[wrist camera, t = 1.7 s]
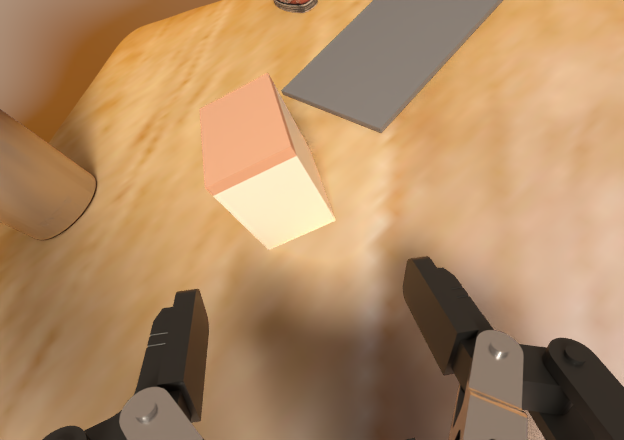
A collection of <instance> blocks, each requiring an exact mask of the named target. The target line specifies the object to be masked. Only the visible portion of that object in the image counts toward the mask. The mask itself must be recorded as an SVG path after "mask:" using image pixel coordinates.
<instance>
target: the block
mask: <svg viewBox="0 0 624 440" xmlns="http://www.w3.org/2000/svg"><path fill="white" fill-rule="evenodd" d="M200 123H201V138H202V153H203V167H204V182H205V189H206V190H207V191H208V192H209V193H211V194H212V195H213V196H214V197H215V198H216V199H217V200H218V201H219V202H220V203H221V204H222V205H223V206H224V207H225V208H226V209H227V210H228V211H229V212H230V213H231V214H232V215H233V216H234V217H235V218H236V219H237V220H238V221H239V222H240V223H241V224H242V225H244V226H245V227H246V228H247V229H248V230H249V231H250V232H251V233H252V234H253V235H254V236H255V237H256V238H257V239H258V240H259V241H260V242H261V243H262V244H263V245H264V246H265V247H266V248H267V249H268V250H270V249H272V248H275V247H277V246H279V245H281V244H284V243H286V242H288V241H290V240H293V239H295V238H297V237H299V236H302V235H304V234H306V233H308V232H311V231H313V230H315V229H317V228H320V227H322V226H324V225H327V224H329V223H331V222H333V221H336V220H335V217H334V214H333V211H332V209H331V206H330V203H329V200H328V198H327V195H326V192H325V189H324V187H323V184H322V181H321V178H320V176H319V173H318V170H317V167H316V165H315V162H314V159H313V156H312V153H311V151H310V149H309V147H308V145H307V143H306V141H305V140H304V138H303V136H302V134H301V132H300V130H299V129H298V127H297V125H296V123H295V121H294V119H293V118H292V116H291V114H290V112H289V110H288V108H287V107H286V105H285V103H284V101H283V99H282V98H281V96H280V94H279V92H278V90H277V88H276V87H275V85H274V83H273V81H272V79H271V77H270V76H269V74H268V73H266V74H264V75H262V76H260V77H259V78H257V79H255V80H253V81H251V82H249V83H247V84H245V85H244V86H242V87H240V88H238V89H236V90H234V91H232V92H230V93H228V94H227V95H225V96H223V97H221V98H219V99H217V100H215V101H213V102H211V103H210V104H208V105H206V106H204V107H202V108H200Z"/></svg>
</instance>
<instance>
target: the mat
mask: <svg viewBox="0 0 624 440" xmlns="http://www.w3.org/2000/svg"><path fill="white" fill-rule="evenodd" d="M502 1H503V0H373V1H372V2H371V3H370V4H369V5H368V6H367V7H366V8H365V9H364V10H363V11H362V12H361V13H360V14H359V15H358V16H357V17H356V18H355V19H354V20H353V21H352V22H351V23H350V24H349V25H348V26H347V27H346V28H345V29H344V30H343V31H341V32H340V33H339V34H338V35H337V36H336V37H335V38H334V39H333V40H332V41H331V42H330V43H329V44H328V45H327V46H326V47H325V48H324V49H323V50H322V51H321V52H320V53H319V54H318V55H317V56H316V57H315V58H314V59H313V60H312V61H311V62H310V63H309V64H308V65H307V66H306V67H305V68H304V69H303V70H302V71H301V72H300V73H299V74H298V75H297V76H296V77H295V78H294V79H293V80H292V81H291V82H290V83H289V84H288V85H287V86H286V87H284V88H283V89H282V90H281V91H282V93H283V95H286V96H289V97H291V98H294V99H296V100H299V101H301V102H304V103H306V104H309V105H311V106H314V107H316V108H319V109H322V110H324V111H327V112H329V113H332V114H334V115H337V116H339V117H342V118H344V119H347V120H349V121H352V122H355V123H357V124H360V125H362V126H365V127H367V128H370V129H372V130H375V131H377V132H380V133H382V132H383V131H384V130H385V128H386V127H387V126H388V125H389V124H390V123H391V122H392V121H393V120H394V119H395V118H396V116H397V115H398V114H399V113H400V112H401V111H402V110H403V109H404V108H405V107H406V106H407V104H408V103H409V102H410V101H411V100H412V99H413V98H414V97H415V96H416V95H417V94H418V92H419V91H420V90H421V89H422V88H423V87H424V86H425V85H426V84H427V83H428V82H429V80H430V79H431V78H432V77H433V76H434V75H435V74H436V73H437V72H438V71H439V70H440V68H441V67H442V66H443V65H444V64H445V63H446V62H447V61H448V60H449V59H450V58H451V56H452V55H453V54H454V53H455V52H456V51H457V50H458V49H459V48H460V47H461V46H462V45H463V43H464V42H465V41H466V40H467V39H468V38H469V37H470V36H471V35H472V34H473V33H474V31H475V30H476V29H477V28H478V27H479V26H480V25H481V24H482V23H483V22H484V21H485V19H486V18H487V17H488V16H489V15H490V14H491V13H492V12H493V11H494V10H495V9H496V7H497V6H498V5H499V4H500V3H501V2H502Z"/></svg>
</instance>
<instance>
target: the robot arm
mask: <svg viewBox="0 0 624 440" xmlns="http://www.w3.org/2000/svg"><path fill="white" fill-rule="evenodd" d="M95 188H96V181H95V178H94V176H93V175H92V174H90V173H89V172H87V171H86V170H85V169H83V168H82V167H80V166H79V165H78V164H76V163H75V162H73V161H72V160H71V159H69V158H68V157H66V156H65V155H64V154H62V153H61V152H60V151H58V150H57V149H55V148H54V147H53V146H51V145H50V144H48V143H47V142H46V141H44V140H43V139H41V138H40V137H38V136H37V135H36V134H34V133H33V132H32V131H30V130H29V129H27V128H26V127H25V126H23V125H22V124H20V123H19V122H18V121H16V120H15V119H14V118H12V117H11V116H9V115H8V114H6V113H5V112H4V111H2V110H1V109H0V222H1V223H3V224H5V225H8V226H10V227H12V228H14V229H16V230H18V231H20V232H22V233H24V234H26V235H28V236H31V237H33V238H35V239H38V240H46V239H49V238H52V237H54V236H56V235H58V234H60V233H61V232H63V231H64V230H66V229H67V228H68V227H69V226H70V225H71V224H73V223H74V222H75V221H76V220H77V219H78V217H79V216H80V215H81V214H82V213H83V211H84V210H85V209H86V207H87V206H88V204H89V203H90V201H91V199H92V197H93V195H94V191H95ZM403 294H404V298H405V301H406V303H407V305H408V307H409V309H410V311H411V313H412V315H413V317H414V319H415V321H416V323H417V325H418V326H419V328H420V330H421V332H422V334H423V336H424V338H425V340H426V342H427V344H428V346H429V348H430V350H431V352H432V354H433V356H434V358H435V360H436V362H437V363H438V365H439V367H440V369H441V371H442V373H443V375H449V374H455V376H456V377H457V379H458V381H459V387H458V392H457V397H456V403H455V408H454V413H453V418H452V424H451V429H450V434H449V438H448V440H528V417H527V414H526V413H525V412H523V411H522V410H528V411H529V413H530V415H531V416H532V418H533V420H534V421H535V423H536V425H537V426H538V428H539V430H540V431H541V433H542V435H543V436H544V438H545V439H546V440H624V387H623V386H622V385H621V383H620V382H619V381H618V380H617V379H616V378H615V377H614V375H613V374H612V373H611V372H610V371H609V370H608V369H607V367H606V366H605V365H604V364H603V363H602V362H601V361H600V359H599V358H598V357H597V356H596V355H595V354H594V353H593V352H592V351H591V350H590V349H589V348H587V347H586V346H585V345H583V344H581V343H579V342H577V341H575V340H572V339H568V338H556V339H554V340H552V341H551V342H550V343H549V345H548V347H547V348H545V347H537V346H530V345H522V344H518V343H517V342H516V341H515V340H514V339H513V338H512V337H510V336H509V335H507V334H505V333H503V332H500V331H496V330H494V329H493V328H492V327H491V325H490V324H489V323H488V321H487V320H486V319H485V317H484V316H483V314H482V313H481V312H480V310H479V309H478V307H477V306H476V305H475V303H474V302H473V301H472V299H471V298H470V297H468V294H467V292H466V291H465V290H464V288H462V285H461V284H460V283H459V281H458V280H457V278H456V277H455V276H454V275H453V274H451V273H450V272H449V271H447V270H446V269H444V268H437V267H436V266H435V264H434V263H433V262H432V260H431V259H430V258H429V257H428V256H426V257H419V258H411V259H408V261H407V265H406V271H405V277H404V283H403ZM208 335H209V324H208V317H207V313H206V310H205V307H204V303H203V300H202V297H201V293H200V291H199V289H193V290H186V291H179V292H177V293H176V295H175V300H174V305H173V307H170V308H163V309H162V310H161V312H160V313H159V314H158V316H157V317H156V318H155V320H154V322H153V325H152V329H151V333H150V337H149V341H148V348H147V349H146V353H145V357H144V361H143V365H142V368H141V372H140V376H139V380H138V384H137V388H136V391H135V393H134V395H133V396H132V397H131V398H130V399H129V400H128V402H127V403H126V404H125V406H124V407H123V409H122V410H121V411H120V412H119V413H118V414H116V415H115V416H113V417H111V418H109V419H108V420H106V421H103V422H101V423H99V424H97V425H95V426H93V427H91V428H89V429H87V430H85V431H83V430H82V429H81V428H80V427H77V426H66V427H62V428H60V429H57V430H55V431H54V432H52V433H50V434H49V435H47V436H46V437H45V438H44V439H43V440H204V439H203V438H202V437H201V436H200V434H199V433H198V432H197V430H196V429H195V428H194V426H193V425H192V424H191V423H193V422H198V421H201V412H202V401H203V390H204V379H205V368H206V357H207V346H208ZM407 440H415V438H412V439H407Z"/></svg>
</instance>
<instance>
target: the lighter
mask: <svg viewBox="0 0 624 440" xmlns="http://www.w3.org/2000/svg"><path fill="white" fill-rule="evenodd" d="M317 2H318V1H317V0H274V3H275V5H276V6H277V7H279V8H280V9H282V10H285V11H289V12H295V13H305V12H308V11H309V10H311V9H313V8H314V7H315V6H316V5H317Z"/></svg>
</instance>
